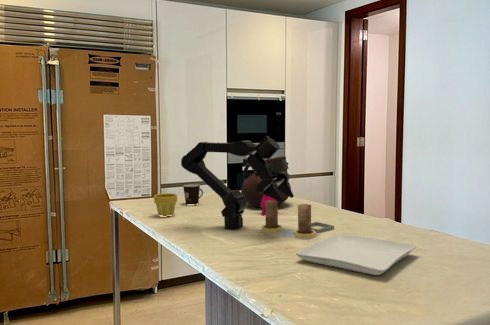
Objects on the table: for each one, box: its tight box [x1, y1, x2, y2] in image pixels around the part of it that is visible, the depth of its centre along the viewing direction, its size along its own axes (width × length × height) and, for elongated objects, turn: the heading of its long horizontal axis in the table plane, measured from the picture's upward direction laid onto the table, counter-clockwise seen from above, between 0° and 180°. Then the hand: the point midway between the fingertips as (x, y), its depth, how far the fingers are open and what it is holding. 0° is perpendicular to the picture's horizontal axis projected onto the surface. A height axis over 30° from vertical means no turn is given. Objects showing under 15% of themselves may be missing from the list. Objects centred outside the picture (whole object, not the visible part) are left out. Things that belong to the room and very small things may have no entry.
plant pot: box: [153, 192, 178, 216], centre depth 197 cm, size 10×10×10 cm
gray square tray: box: [311, 221, 335, 234], centre depth 163 cm, size 9×9×2 cm
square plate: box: [295, 233, 417, 276], centre depth 131 cm, size 27×27×4 cm
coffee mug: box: [182, 183, 204, 205], centre depth 223 cm, size 12×9×10 cm
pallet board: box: [256, 224, 320, 243], centre depth 158 cm, size 22×9×3 cm, turn 51°
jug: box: [240, 155, 292, 208], centre depth 216 cm, size 25×25×25 cm
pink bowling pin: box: [260, 195, 276, 216], centre depth 196 cm, size 7×7×20 cm
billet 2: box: [297, 203, 312, 234], centre depth 153 cm, size 5×5×11 cm
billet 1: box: [264, 200, 279, 228], centre depth 162 cm, size 5×5×11 cm
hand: (288, 199), depth 156 cm, fingers open, 9 cm apart
